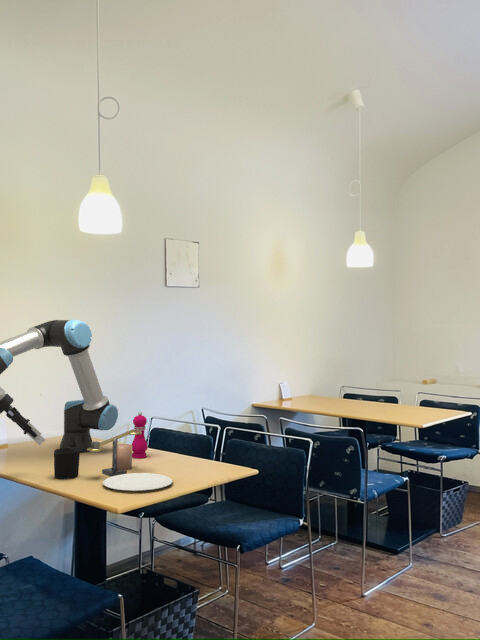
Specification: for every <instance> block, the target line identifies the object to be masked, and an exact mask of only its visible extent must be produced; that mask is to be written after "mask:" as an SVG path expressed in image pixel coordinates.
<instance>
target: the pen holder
mask: <svg viewBox="0 0 480 640" xmlns="http://www.w3.org/2000/svg"><path fill="white" fill-rule="evenodd" d="M80 454H81V452H80V450H78V451H76V450H74V449H71V448H61V449H60V448H56V449H54V451H53V461H54V462H53V470H54V477H55V479H57V480H71V479H75V478H77V477H78V476H79V470H80V469H79V468H80V456H81V455H80Z"/></svg>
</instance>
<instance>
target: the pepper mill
mask: <svg viewBox="0 0 480 640" xmlns="http://www.w3.org/2000/svg"><path fill="white" fill-rule="evenodd" d="M147 423H148V421H147V418H146V416H145V415H143V413H142V412H141V411H139V412H138V413H137V415H135V416H134V417H133V420H132V424H133V425H134V427H133V429H135V431H141V432H142V434H139V435H134V438H133V440H132V442H131V445H132V459H136V460H138V459H141V460H142V459H145V458H147V452H146V451H148V447H149V445H148V443H147V439H146V437H145V430H146V425H147Z"/></svg>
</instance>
